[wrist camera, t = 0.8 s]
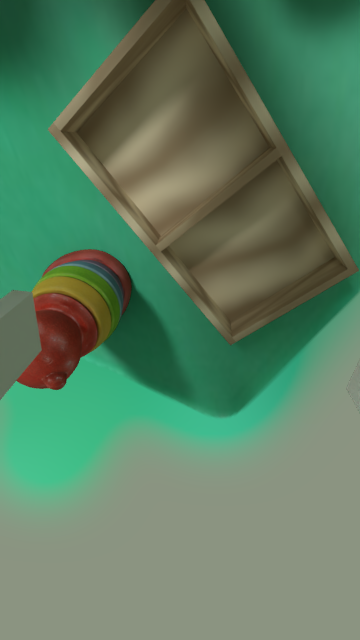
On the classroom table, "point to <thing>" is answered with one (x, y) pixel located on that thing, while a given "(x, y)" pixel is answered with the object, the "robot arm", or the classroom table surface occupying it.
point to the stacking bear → (75, 313)
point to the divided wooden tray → (203, 171)
